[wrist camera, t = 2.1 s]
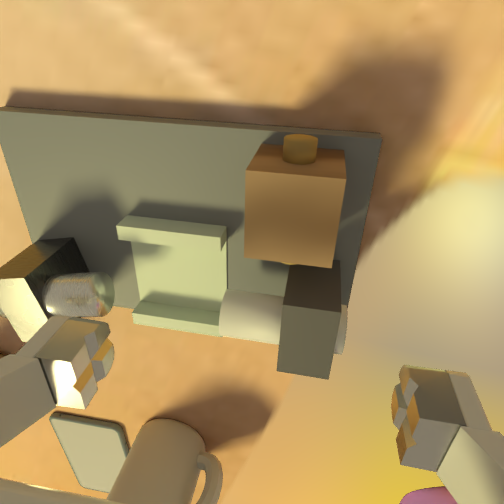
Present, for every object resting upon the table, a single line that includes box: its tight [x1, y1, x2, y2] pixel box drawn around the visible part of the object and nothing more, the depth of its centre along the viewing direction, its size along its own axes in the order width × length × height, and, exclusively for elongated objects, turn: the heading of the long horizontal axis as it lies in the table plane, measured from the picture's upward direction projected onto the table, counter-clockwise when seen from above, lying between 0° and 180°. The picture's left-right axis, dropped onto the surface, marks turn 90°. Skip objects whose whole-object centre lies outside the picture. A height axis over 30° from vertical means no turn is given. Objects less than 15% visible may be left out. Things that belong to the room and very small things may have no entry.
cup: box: [106, 418, 223, 504], centre depth 35 cm, size 7×10×9 cm
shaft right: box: [0, 237, 115, 342], centre depth 25 cm, size 7×5×5 cm
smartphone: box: [49, 413, 129, 493], centre depth 44 cm, size 8×1×15 cm
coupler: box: [244, 134, 346, 268], centre depth 20 cm, size 7×4×4 cm
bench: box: [0, 106, 382, 379], centre depth 23 cm, size 23×14×6 cm, turn 88°
